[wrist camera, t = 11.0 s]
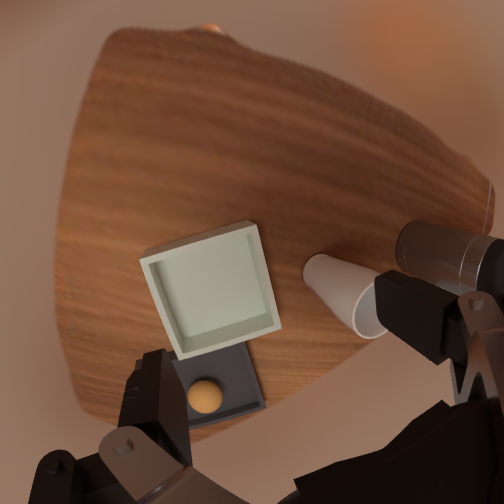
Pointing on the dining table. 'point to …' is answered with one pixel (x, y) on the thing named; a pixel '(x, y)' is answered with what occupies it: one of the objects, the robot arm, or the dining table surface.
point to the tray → (220, 382)
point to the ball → (205, 396)
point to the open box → (212, 289)
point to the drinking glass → (346, 292)
